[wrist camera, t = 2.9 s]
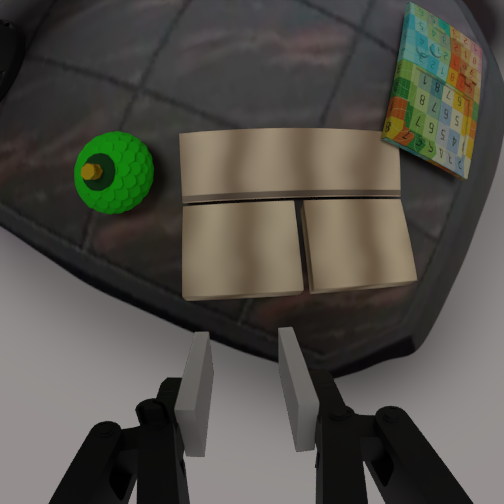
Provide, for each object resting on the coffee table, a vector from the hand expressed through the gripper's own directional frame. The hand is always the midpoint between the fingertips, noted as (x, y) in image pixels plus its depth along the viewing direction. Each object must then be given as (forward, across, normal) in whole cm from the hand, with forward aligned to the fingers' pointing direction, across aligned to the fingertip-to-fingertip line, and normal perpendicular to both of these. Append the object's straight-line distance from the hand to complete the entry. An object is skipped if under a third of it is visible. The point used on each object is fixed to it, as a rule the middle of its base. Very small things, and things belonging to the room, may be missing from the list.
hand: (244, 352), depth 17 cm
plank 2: (+16, +12, +2) cm, 20 cm away
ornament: (+19, -12, +11) cm, 25 cm away
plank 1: (+16, 0, +2) cm, 16 cm away
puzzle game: (+19, +24, +21) cm, 37 cm away
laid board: (+19, +6, +11) cm, 22 cm away
